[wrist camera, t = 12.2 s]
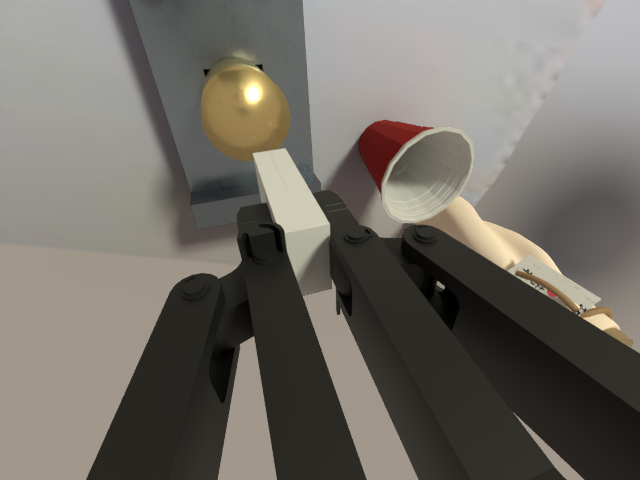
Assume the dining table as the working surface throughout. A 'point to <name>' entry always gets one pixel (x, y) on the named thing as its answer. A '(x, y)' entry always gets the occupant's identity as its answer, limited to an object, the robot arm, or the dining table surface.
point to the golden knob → (243, 109)
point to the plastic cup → (416, 167)
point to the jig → (188, 75)
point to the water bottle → (522, 262)
